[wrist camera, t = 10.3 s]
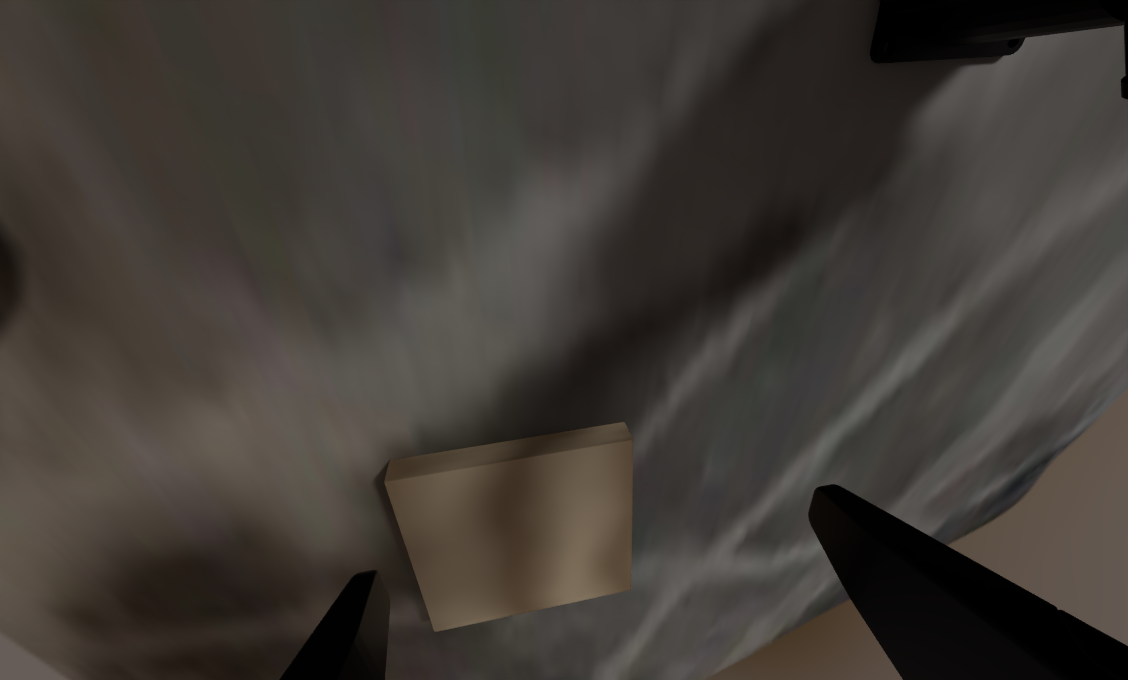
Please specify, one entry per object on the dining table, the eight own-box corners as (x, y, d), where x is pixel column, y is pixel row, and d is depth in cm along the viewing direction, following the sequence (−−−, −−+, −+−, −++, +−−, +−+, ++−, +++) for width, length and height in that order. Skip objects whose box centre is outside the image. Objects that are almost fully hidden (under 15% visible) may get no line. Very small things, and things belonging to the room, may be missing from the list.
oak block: (621, 415, 24) (633, 439, 22) (621, 561, 30) (631, 589, 28) (390, 453, 23) (384, 482, 21) (437, 599, 28) (434, 632, 27)
